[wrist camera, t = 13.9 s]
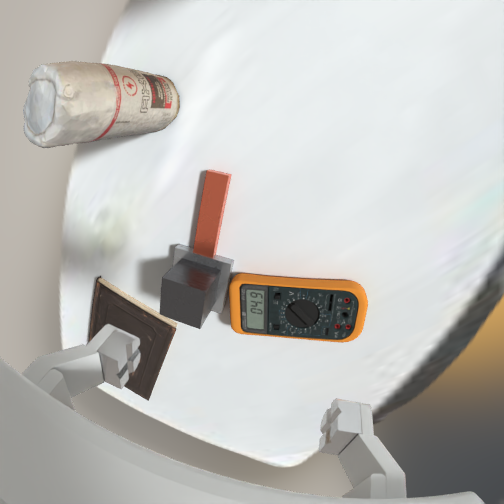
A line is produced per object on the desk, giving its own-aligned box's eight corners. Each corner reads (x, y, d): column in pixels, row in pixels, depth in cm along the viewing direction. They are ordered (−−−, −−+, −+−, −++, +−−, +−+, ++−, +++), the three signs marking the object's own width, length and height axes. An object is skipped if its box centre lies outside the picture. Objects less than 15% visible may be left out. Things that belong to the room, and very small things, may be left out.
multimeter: (357, 330, 41) (359, 345, 38) (236, 321, 44) (230, 334, 41) (367, 278, 38) (371, 290, 35) (234, 269, 41) (227, 280, 38)
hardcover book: (181, 321, 47) (175, 329, 45) (152, 393, 56) (148, 400, 54) (102, 274, 47) (94, 280, 45) (91, 354, 57) (85, 360, 54)
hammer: (191, 165, 37) (175, 169, 32) (251, 179, 36) (243, 185, 32) (173, 292, 44) (160, 307, 40) (223, 308, 44) (214, 326, 39)
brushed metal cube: (181, 258, 40) (162, 277, 35) (220, 269, 40) (206, 291, 34) (177, 292, 42) (159, 314, 37) (214, 304, 42) (200, 328, 36)
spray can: (177, 137, 36) (64, 150, 17) (125, 135, 37) (7, 152, 19) (185, 74, 32) (76, 39, 14) (131, 77, 33) (15, 60, 15)
